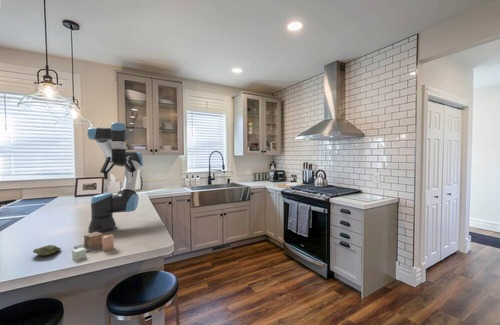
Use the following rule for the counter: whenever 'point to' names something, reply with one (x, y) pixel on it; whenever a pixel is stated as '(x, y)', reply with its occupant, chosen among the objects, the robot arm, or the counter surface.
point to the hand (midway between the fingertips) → (119, 183)
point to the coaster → (88, 248)
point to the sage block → (79, 253)
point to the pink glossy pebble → (107, 242)
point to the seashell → (46, 250)
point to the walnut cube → (93, 239)
